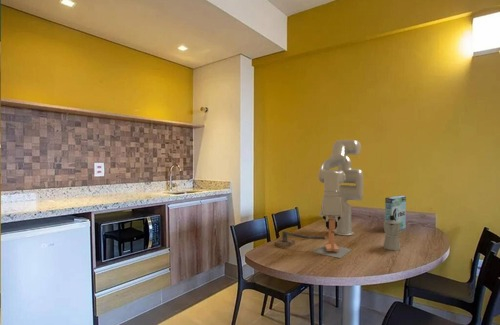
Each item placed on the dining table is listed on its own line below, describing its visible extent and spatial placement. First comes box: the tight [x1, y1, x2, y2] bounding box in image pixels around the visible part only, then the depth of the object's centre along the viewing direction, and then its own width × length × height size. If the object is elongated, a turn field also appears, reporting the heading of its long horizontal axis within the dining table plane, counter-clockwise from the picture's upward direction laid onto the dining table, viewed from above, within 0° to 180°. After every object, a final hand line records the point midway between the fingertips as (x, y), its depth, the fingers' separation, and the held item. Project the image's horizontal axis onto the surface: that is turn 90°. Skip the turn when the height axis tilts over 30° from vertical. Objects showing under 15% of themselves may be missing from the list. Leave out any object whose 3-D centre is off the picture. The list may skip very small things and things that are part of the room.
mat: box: [311, 244, 353, 260], centre depth 152 cm, size 17×15×1 cm
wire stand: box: [274, 230, 326, 249], centre depth 157 cm, size 10×26×8 cm, turn 52°
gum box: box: [384, 195, 407, 231], centre depth 198 cm, size 20×5×23 cm, turn 126°
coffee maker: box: [382, 215, 401, 252], centre depth 158 cm, size 15×9×18 cm, turn 151°
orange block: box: [323, 217, 339, 252], centre depth 153 cm, size 10×6×15 cm, turn 172°
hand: (331, 228), depth 153 cm, fingers closed on orange block, 3 cm apart
